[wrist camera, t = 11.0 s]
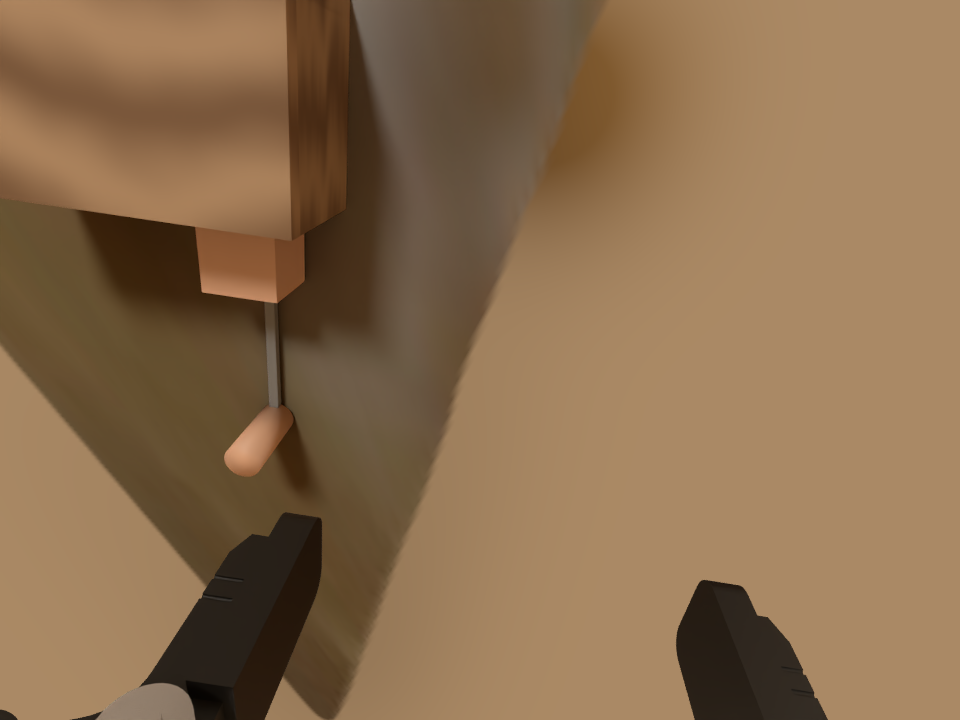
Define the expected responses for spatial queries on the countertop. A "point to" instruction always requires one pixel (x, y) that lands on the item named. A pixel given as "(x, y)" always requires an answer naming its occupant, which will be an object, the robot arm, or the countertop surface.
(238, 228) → the walnut shelf
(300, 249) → the tethered block
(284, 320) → the countertop surface
